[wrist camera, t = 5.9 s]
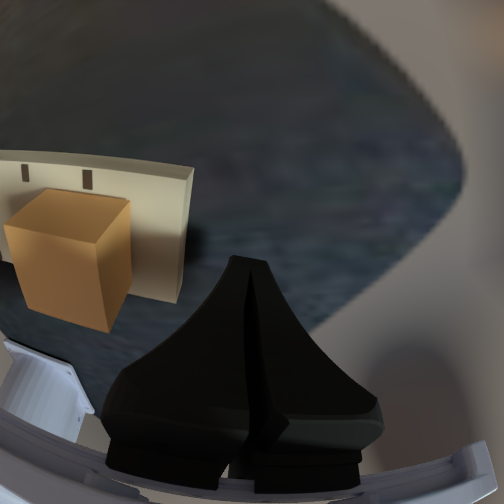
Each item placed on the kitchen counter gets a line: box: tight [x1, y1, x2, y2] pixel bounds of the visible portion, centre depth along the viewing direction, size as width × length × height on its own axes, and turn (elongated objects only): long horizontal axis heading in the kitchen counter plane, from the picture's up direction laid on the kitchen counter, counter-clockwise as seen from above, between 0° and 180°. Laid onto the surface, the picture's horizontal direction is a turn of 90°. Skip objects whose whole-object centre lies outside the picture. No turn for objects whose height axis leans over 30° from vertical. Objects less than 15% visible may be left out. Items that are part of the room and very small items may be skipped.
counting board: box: [0, 150, 194, 303], centre depth 12 cm, size 6×20×2 cm, turn 79°
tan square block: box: [3, 189, 132, 333], centre depth 10 cm, size 4×4×3 cm
